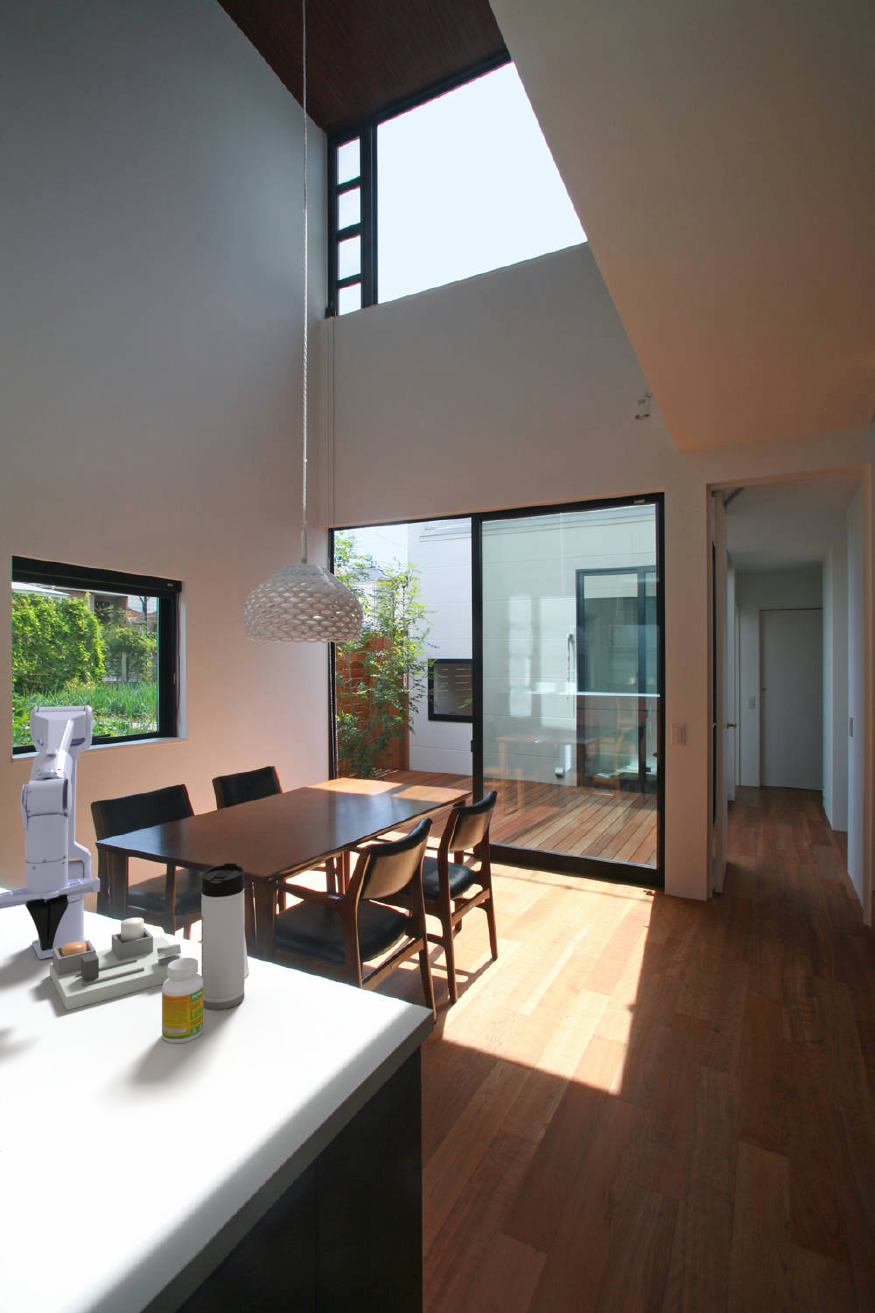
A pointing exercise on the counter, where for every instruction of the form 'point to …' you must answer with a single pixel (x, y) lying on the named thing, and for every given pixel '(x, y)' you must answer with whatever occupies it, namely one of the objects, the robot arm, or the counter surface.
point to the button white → (132, 929)
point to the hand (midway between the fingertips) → (46, 948)
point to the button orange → (73, 948)
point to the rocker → (169, 950)
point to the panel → (111, 970)
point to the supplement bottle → (182, 1001)
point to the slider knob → (89, 967)
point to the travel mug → (223, 936)
